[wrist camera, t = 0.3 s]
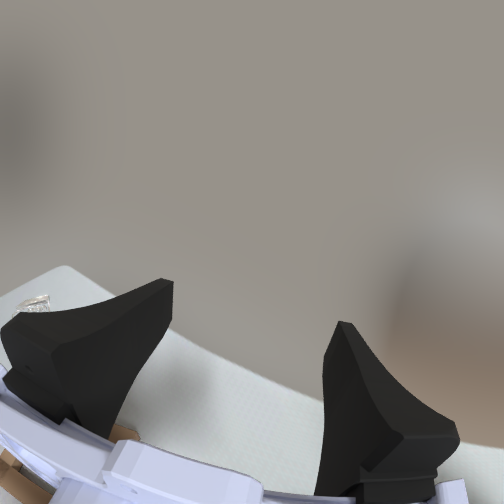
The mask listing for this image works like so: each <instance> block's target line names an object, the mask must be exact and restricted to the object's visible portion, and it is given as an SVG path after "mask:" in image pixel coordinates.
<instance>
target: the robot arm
mask: <svg viewBox="0 0 504 504" xmlns="http://www.w3.org/2000/svg"><path fill="white" fill-rule="evenodd" d="M173 283H174V282H173V281H170V280H166V279H162V278H160V279H157V280H155V281H153V282H151V283H148V284H146V285H144V286H141V287H139V288H137V289H134V290H132V291H130V292H127V293H125V294H122V295H120V296H117V297H115V298H112V299H109V300H107V301H104V302H100V303H97V304H93V305H90V306H86V307H81V308H76V309H70V310H64V311H55V312H20V313H18V314H17V315H16V316H15V317H14V318H12V319H11V320H10V321H9V322H8V323H6V324H5V325H4V326H3V327H2V328H1V331H0V336H1V341H2V344H3V347H4V349H5V351H6V354H7V356H8V359H9V361H10V363H11V365H12V367H13V368H12V369H11V370H10V371H9V372H8V371H7V370H6V368H5V367H4V366H3V365H2V364H0V444H1V445H2V446H3V447H4V448H5V449H6V450H8V451H9V452H10V453H11V454H12V455H13V456H14V457H16V458H17V459H18V460H19V461H20V462H22V463H23V464H24V465H25V466H26V467H28V468H29V469H30V470H31V471H33V472H34V473H35V474H37V475H38V476H39V477H40V478H42V479H43V480H44V481H46V482H47V483H49V484H50V485H51V486H53V487H54V488H56V489H57V490H56V492H55V494H54V495H53V497H52V499H51V500H50V502H49V504H469V502H468V497H467V492H466V487H465V483H464V479H462V478H461V479H456V480H451V481H445V482H441V483H438V484H436V485H434V478H436V477H437V475H438V473H437V467H438V466H440V465H441V464H442V463H443V462H444V461H445V460H447V459H448V458H449V457H450V456H451V455H452V454H453V453H454V452H455V451H456V449H457V448H458V446H459V444H460V438H459V435H458V432H457V428H456V425H455V422H453V421H452V420H450V419H448V418H446V417H445V416H443V415H441V414H439V413H437V412H436V411H434V410H433V409H431V408H430V407H428V406H427V405H425V404H424V403H422V402H421V401H420V400H418V399H417V398H416V397H415V396H413V395H412V394H411V393H410V392H409V391H407V390H406V389H405V388H404V387H403V386H402V385H401V384H400V383H399V382H398V381H397V380H396V379H395V378H394V377H393V376H392V375H391V374H390V373H389V372H388V371H387V370H386V368H385V367H384V366H383V365H382V363H381V362H380V361H379V360H378V358H377V357H376V356H375V355H374V353H373V352H372V351H371V349H370V348H369V346H368V345H367V344H366V342H365V341H364V339H363V338H362V337H361V335H360V334H359V332H358V331H357V330H356V328H355V327H354V325H353V324H352V323H347V322H343V321H338V324H337V326H336V329H335V331H334V334H333V336H332V338H331V341H330V343H329V346H328V348H327V350H326V353H325V355H324V362H323V375H322V377H323V395H324V396H323V397H324V435H323V445H322V453H321V460H320V466H319V472H318V477H317V483H316V487H315V492H314V496H310V495H299V494H290V493H282V492H275V491H268V490H264V489H263V485H262V484H261V483H260V482H259V481H257V480H256V479H254V478H253V477H251V476H250V475H247V474H243V473H240V472H237V471H234V470H231V469H226V468H222V467H218V466H215V465H211V464H207V463H204V462H200V461H197V460H193V459H190V458H187V457H184V456H181V455H177V454H174V453H172V452H169V451H166V450H163V449H160V448H158V447H155V446H152V445H150V444H147V443H143V442H140V441H136V440H133V439H128V440H118V441H117V443H116V444H114V443H112V442H110V441H108V439H109V436H110V433H111V430H112V428H113V425H114V423H115V420H116V418H117V415H118V413H119V411H120V408H121V406H122V404H123V402H124V400H125V398H126V396H127V393H128V391H129V390H130V388H131V386H132V384H133V382H134V380H135V378H136V376H137V375H138V373H139V371H140V370H141V368H142V367H143V365H144V364H145V363H146V361H147V360H148V358H149V357H150V355H151V354H152V352H153V351H154V350H155V348H156V347H157V345H158V344H159V342H160V341H161V339H162V338H163V336H164V334H165V332H166V331H167V329H168V327H169V324H170V322H171V320H172V305H173V304H172V303H173Z"/></svg>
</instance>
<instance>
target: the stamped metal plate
mask: <svg viewBox="0 0 504 504" xmlns="http://www.w3.org/2000/svg"><path fill="white" fill-rule="evenodd" d="M46 303H48V308H49V312H50V307H49V297H48V295H44V296H40V297H36V298H33V299H29V300H25V301H24V302H22V303H21V304H20V305H18V306H17V307H16V309H17V311H16V312H15V313H17V312H18V311H20V310H24V309H26V308H30V307H34V306H37V305H39V304H40V305H41V304H46ZM42 310H44V312H46V311H47V308H46V306H45V305H44V306H40V307H36V308H32V309H29V310H28V312H37V311H39V312H42ZM15 313H14V314H15ZM14 314H12V318H13V315H14Z"/></svg>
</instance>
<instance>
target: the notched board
mask: <svg viewBox="0 0 504 504" xmlns="http://www.w3.org/2000/svg"><path fill="white" fill-rule="evenodd" d="M128 439H133V440H136V441H139V440H140V437H139V435H138V433H137V432H136V431H133V430H130V429H127V428H125V427H122V426H119V425H116V424H114V425H113V428H112V430H111V433H110V436H109V439H108V441H110V442H112V443H114V444H116V443H117V441H118V440H128ZM22 465H23V463H22V462H20V461H19V460H18V459H17V458H16V457H14V456H13V455H12V454H11V453H10V452H9V451H8V450H6V449H4V451H3V452H2V454H1V456H0V486H1V487H3V488H4V489H5V490H6V491H7V492H9V493H10V494H11V495H12V496H14V497H15V498H16V499H18V500H19V501H20V502H22V503H23V504H49V502H50V500H51V499H52V497H53V495H52V494H50V493H48V492H47V491H45V490H44V489H42V488H41V487H39V486H38V485H36V484H35V483H33V482H32V481H30V480H29V479H27V478H26V477H25V476H23V475H22V474H21V473H19V470H20V469H21V467H22Z"/></svg>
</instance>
